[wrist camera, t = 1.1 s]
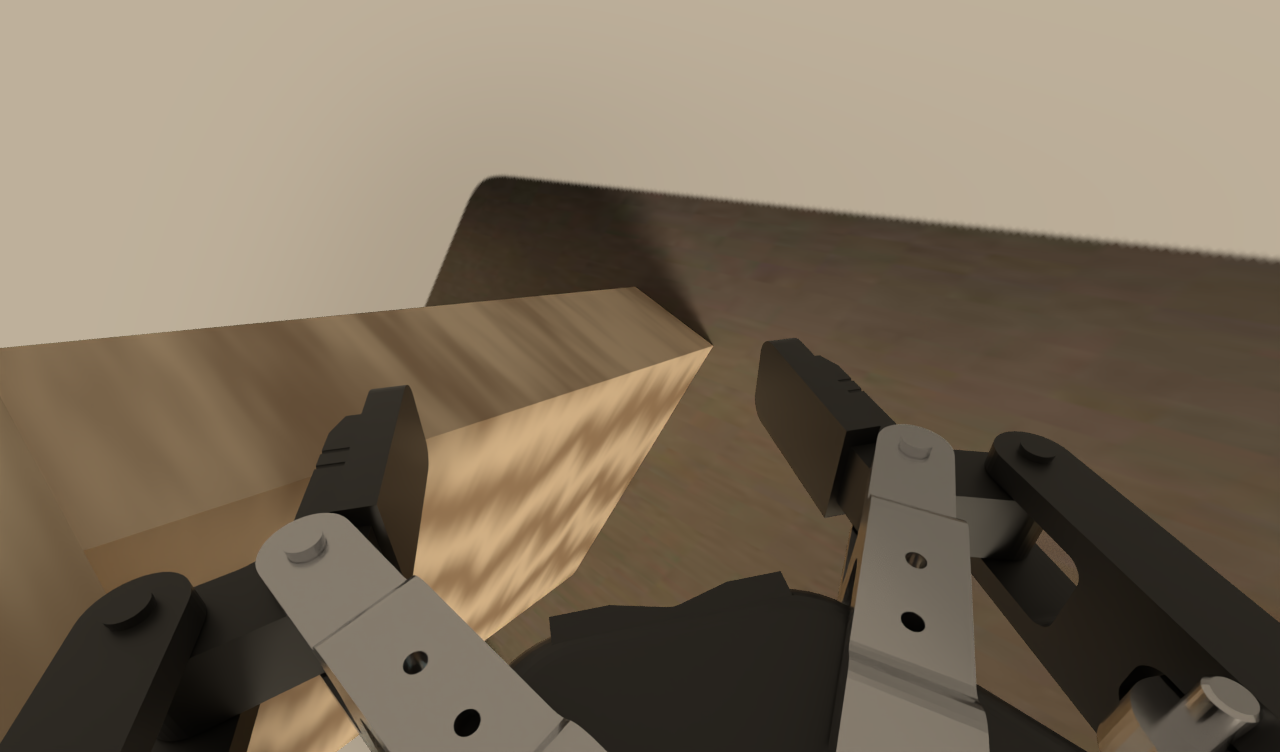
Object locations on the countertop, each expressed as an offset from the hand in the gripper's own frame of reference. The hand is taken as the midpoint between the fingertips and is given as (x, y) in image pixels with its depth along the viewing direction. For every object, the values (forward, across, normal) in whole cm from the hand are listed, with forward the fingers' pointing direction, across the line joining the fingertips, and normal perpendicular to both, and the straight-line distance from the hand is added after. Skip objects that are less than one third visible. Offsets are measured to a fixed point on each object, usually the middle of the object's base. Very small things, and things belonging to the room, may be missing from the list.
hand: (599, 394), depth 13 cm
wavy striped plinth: (+20, +4, -21) cm, 30 cm away
